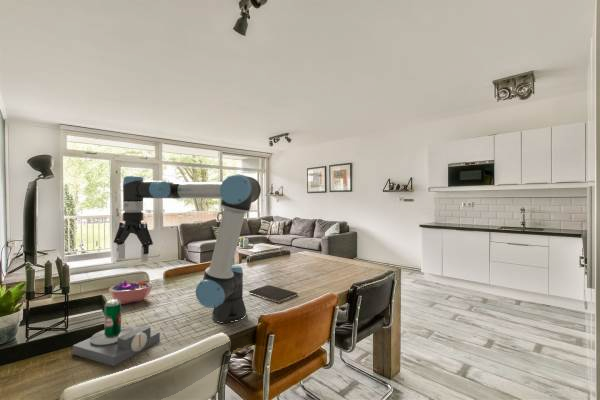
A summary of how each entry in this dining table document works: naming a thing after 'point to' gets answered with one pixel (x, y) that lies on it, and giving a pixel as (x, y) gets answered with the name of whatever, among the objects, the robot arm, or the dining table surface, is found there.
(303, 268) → the dining table surface
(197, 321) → the dining table surface
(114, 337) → the scale pan
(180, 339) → the dining table surface
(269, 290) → the hardcover book
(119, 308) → the soda can
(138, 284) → the cell model
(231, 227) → the robot arm
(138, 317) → the dining table surface
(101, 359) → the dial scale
